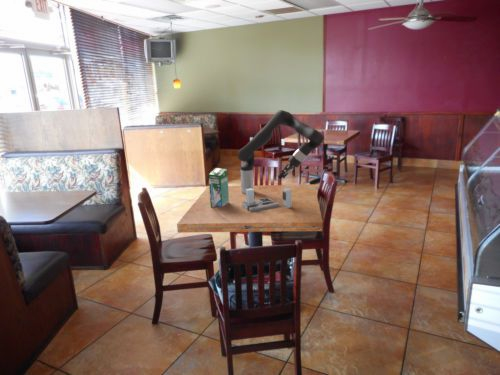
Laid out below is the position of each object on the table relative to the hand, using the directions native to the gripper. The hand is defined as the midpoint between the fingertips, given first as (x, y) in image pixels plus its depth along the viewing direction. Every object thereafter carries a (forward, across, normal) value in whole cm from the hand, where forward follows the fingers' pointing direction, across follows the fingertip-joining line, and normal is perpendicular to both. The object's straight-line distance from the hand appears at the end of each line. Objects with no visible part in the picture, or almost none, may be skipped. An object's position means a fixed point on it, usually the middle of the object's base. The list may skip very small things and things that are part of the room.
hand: (280, 177), depth 223 cm
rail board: (+25, -5, +2) cm, 25 cm away
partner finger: (+28, -1, -3) cm, 28 cm away
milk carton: (+43, -2, -19) cm, 47 cm away
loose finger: (+14, -12, +14) cm, 23 cm away
